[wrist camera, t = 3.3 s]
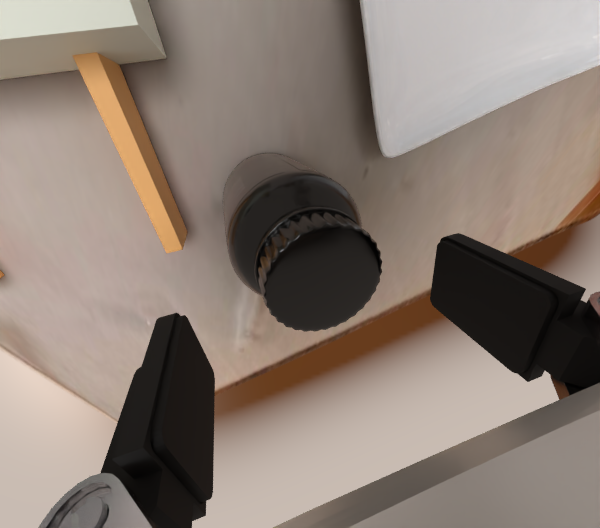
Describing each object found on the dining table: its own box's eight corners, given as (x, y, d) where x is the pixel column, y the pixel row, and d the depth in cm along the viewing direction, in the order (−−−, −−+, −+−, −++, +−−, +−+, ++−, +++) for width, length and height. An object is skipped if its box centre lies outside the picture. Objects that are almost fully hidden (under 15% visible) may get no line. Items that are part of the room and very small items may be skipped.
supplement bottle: (261, 256, 22) (298, 375, 12) (201, 191, 18) (180, 282, 8) (327, 207, 21) (426, 286, 11) (279, 129, 17) (362, 143, 7)
